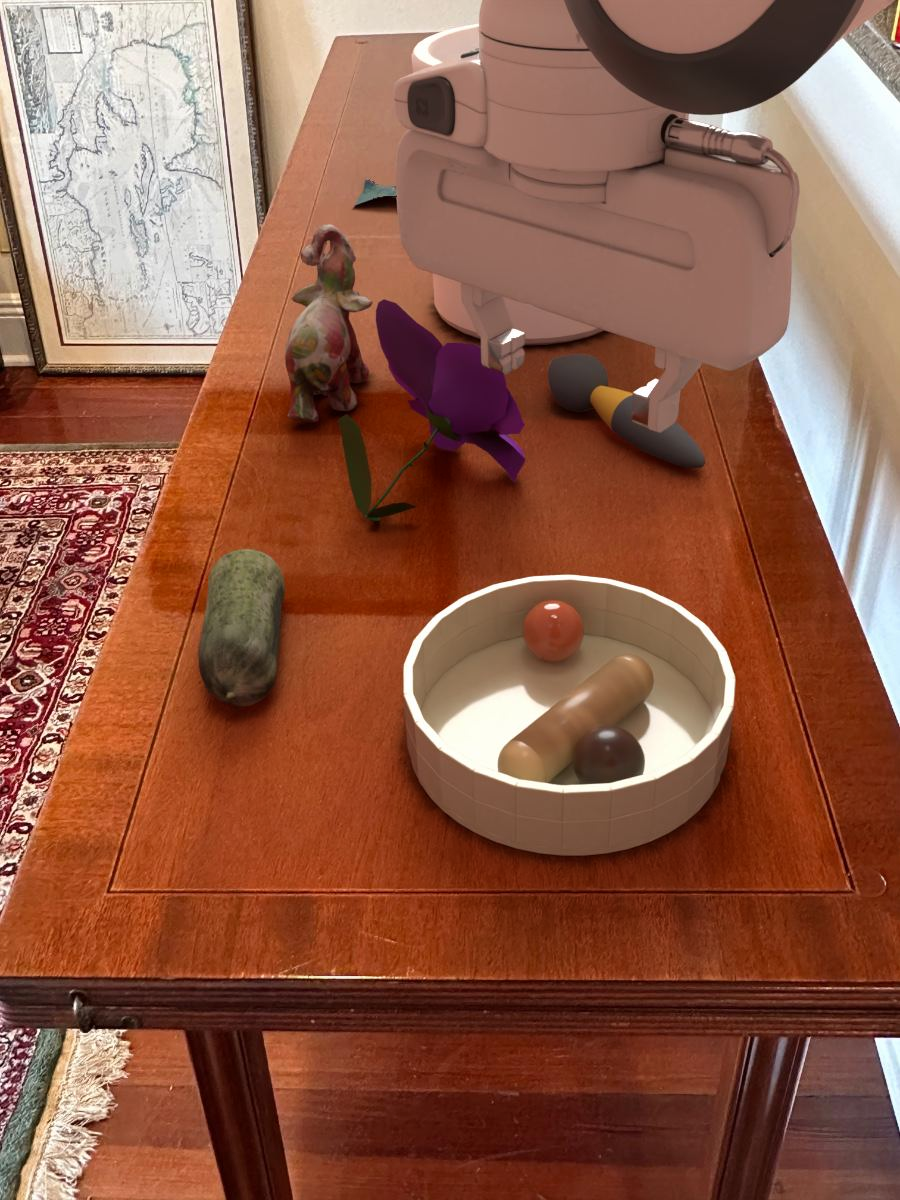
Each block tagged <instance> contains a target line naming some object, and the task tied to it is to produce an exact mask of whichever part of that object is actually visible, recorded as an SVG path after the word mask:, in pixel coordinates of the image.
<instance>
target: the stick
mask: <svg viewBox="0 0 900 1200" xmlns="http://www.w3.org/2000/svg"><path fill="white" fill-rule="evenodd" d="M653 684H654V676H653V672H652V669H651V668H650V666H649V665H648V663H647V662H646V661H645V660H644V659H642V658H641V657H639V656H636V655H632V654H622V655H619V656H616V657H614V658H613V659H611V660H610V661H609V662H607V663H606V664H605V665H604V666H602V667H601V668H600V669H599V670H597V671H596V672H595V673H594V674H592V675H591V676H590V677H589V678H587V679H586V680H585V681H584V682H582V683H581V684H580V685H579V686H577V687H576V688H575V689H574V690H572V691H571V692H570V693H569V694H567V695H566V696H565V697H564V698H562V699H561V700H560V701H559V702H557V703H556V704H555V705H554V706H552V707H551V708H550V709H549V710H547V711H546V712H545V713H544V714H543V715H541V716H540V717H539V718H538V719H536V720H535V721H534V722H533V723H531V724H530V725H529V726H528V727H526V728H525V729H524V730H523V731H521V732H520V733H519V734H518V735H516V736H515V737H514V738H513V739H511V740H510V741H509V742H508V743H507V744H506V745H505V746H504V747H503V748H502V750H501V751H500V754H499V757H498V763H497V767H498V772H500V773H503V774H506V775H509V776H511V777H514V778H517V779H521V780H528V781H535V782H542V783H548V782H550V781H551V780H552V779H553V778H554V777H555V776H557V775H558V774H559V773H560V772H561V771H562V770H564V769H565V768H566V767H567V766H568V765H569V764H571V763H572V762H573V757H574V752H575V748H576V746H577V744H578V742H579V741H580V739H581V738H582V737H583V736H584V735H585V734H586V733H588V732H589V731H591V730H593V729H595V728H598V727H601V726H615V725H616V724H617V723H619V722H620V721H621V720H622V719H623V718H624V717H626V716H627V715H628V714H629V713H630V712H631V711H633V710H634V709H635V708H636V707H637V706H638V705H640V704H641V703H642V702H643V701H644V700H645V699H646V698H647V697H648V696H649V695H650V693H651V691H652V689H653Z"/></svg>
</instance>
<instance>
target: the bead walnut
mask: <svg viewBox="0 0 900 1200" xmlns="http://www.w3.org/2000/svg"><path fill="white" fill-rule="evenodd" d="M573 766H574V770H575V774H576V776H577V778H578V780H579V781H580V783H581V784H603V783H612V782H616V781H620V780H624V779H628V778H632V777H636V776H640V775H643V772H644V767H645V757H644V752H643V749H642V747H641V745H640V743H639V742H638V740H637V739H636V738H635V737H634V736H633V735H632V734H631V733H629V732H628V731H626V730H624V729H622V728H620V727H616V726H601V727H598V728H595V729H593V730H591V731H589V732H588V733H586V734H585V735H584V736H583V737H582V738H581V739H580V741H579V742H578V744H577V746H576V748H575V752H574V757H573Z"/></svg>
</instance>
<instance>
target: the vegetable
mask: <svg viewBox="0 0 900 1200" xmlns="http://www.w3.org/2000/svg"><path fill="white" fill-rule="evenodd" d="M285 591H286V581H285V577H284V575H283V572H282V570H281V568H280V566H279V565H278V563H277V562H276V561H275V560H274V558H272V557H271V556H270V555H269V554H267V553H265V552H263V551H261V550H257V549H252V548H241V549H236V550H232V551H229V552H227V553H225V554H224V555H222V556H221V557H220V558H219V559H217V561H216V562H215V564H214V565H213V566H212V568H211V569H210V571H209V574H208V581H207V596H206V604H205V610H204V617H203V620H202V621H203V622H202V627H201V634H200V639H199V645H198V653H197V654H198V655H197V656H198V670H199V673H200V678H201V680H202V682H203V686H204V687H205V689H206V691H207V692H208V693H209V695H211V696H213V697H214V698H215V699H216V700H219V701H221V702H222V703H225V704H227V705H230V706H234V707H241V708H243V707H250V706H253V705H255V704H257V703H259V702H261V701H262V700H263V699H265V698H266V697H267V696H268V695H269V693H270V692H271V690H272V689H273V687H274V685H275V681H276V678H277V674H278V673H277V672H278V659H279V658H278V657H279V644H280V633H281V630H280V629H281V621H282V619H281V618H282V609H283V608H282V607H283V604H284V597H285V593H286V592H285Z"/></svg>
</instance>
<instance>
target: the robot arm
mask: <svg viewBox="0 0 900 1200" xmlns="http://www.w3.org/2000/svg"><path fill="white" fill-rule="evenodd" d="M895 1H896V0H481V3H480V8H479V13H478V24H479V48H478V49H475V50H472V51H470V52H467V53H464V54H462V55H461V57H460V58H456V59H452V60H449V61H446V62H443V63H440V64H437V65H434V66H431V67H428V68H425V69H422V70H420V71H417V72H415V73H414V72H412V73H409V74H407V75H404V76H402V77H400V78H399V79H398V80H397V81H395V83H394V86H393V94H392V96H393V108H394V113H395V117H396V120H397V122H398V123H399V124H400V125H401V126H402V127H403V128H406V129H407V130H405V132H404V133H403V134H402V136H401V138H400V139H399V143H398V147H397V149H396V157H395V158H396V159H395V163H396V164H395V173H396V193H397V197H396V210H397V212H396V213H397V223H398V233H399V234H398V235H399V239H400V243H401V245H402V247H403V249H404V251H405V254H406V255H407V257H408V258H409V260H410V262H411V263H412V265H413V266H414V267H415V268H416V269H419V270H421V271H424V272H428V273H431V274H433V273H434V274H437V275H440V276H443V277H446V278H449V279H452V280H455V281H458V282H461V296H462V302H463V304H464V306H465V308H466V310H467V313H468V315H469V317H470V319H471V321H472V323H473V325H474V327H475V329H476V331H477V333H478V335H479V336H480V337H481V339H480V347H481V363H482V365H483V366H485V367H488V368H490V369H493V370H495V371H498V372H501V373H504V375H509V374H510V373H512V371H513V370H517V369H519V368H521V367H522V366H523V364H524V362H525V359H526V352H525V350H524V347H525V346H526V345H525V333H523V332H521V331H518V330H516V329H513V326H512V323H511V320H510V317H509V314H508V311H507V309H506V306H505V303H504V300H503V297H506V298H509V299H512V300H515V301H518V302H521V303H524V304H527V305H530V306H533V307H536V308H539V309H542V310H545V311H548V312H551V313H554V314H557V315H560V316H563V317H566V318H569V319H572V320H575V321H578V322H581V323H584V324H587V325H590V326H593V327H596V328H599V329H602V330H604V331H605V332H607V333H611V334H614V335H616V336H617V335H618V336H619V337H623V338H626V339H629V340H633V341H635V342H638V343H640V344H641V343H642V344H644V345H647V346H651V347H654V360H653V361H654V362H653V365H654V366H655V368H659V369H661V370H664V372H663V373H662V375H661V376H660V377H659V379H657V378H654V379H653V380H651V381H649V382H648V383H646V386H641V387H639V388H638V389H636V390H635V391H633V392H632V393H633V399H632V406H633V408H634V411H633V413H632V414H631V419H632V422H634V423H636V424H638V425H641V426H643V427H646V428H649V429H651V430H653V431H656V432H659V433H661V432H662V431H664V430H665V429H667V428H669V427H670V426H672V425H673V424H674V423H675V421H676V422H677V419H678V417H679V413H680V412H679V411H680V410H679V409H680V403H681V402H680V400H681V393H682V391H681V390H683V389H684V388H685V386H686V385H687V384H689V382H690V380H691V379H692V378H693V376H694V375H696V373H697V372H698V371H699V369H700V368H701V366H702V365H703V364H704V365H708V366H710V367H713V368H716V369H718V370H723V371H725V372H726V371H727V372H732V371H733V372H734V371H736V370H738V369H741V368H742V367H745V366H746V365H748V364H749V363H751V362H753V361H755V360H757V359H758V358H759V357H761V356H763V355H764V354H765V353H767V352H768V351H769V350H771V349H772V348H774V347H775V345H777V344H778V343H779V342H780V341H781V340H782V338H783V337H784V336H785V335H786V332H787V330H788V326H789V319H790V309H791V300H792V299H791V296H792V277H793V275H792V273H793V272H792V271H793V270H792V269H793V254H792V253H793V250H792V245H793V244H792V234H793V232H794V229H795V227H796V222H797V214H798V207H799V199H800V194H801V193H800V192H801V191H800V188H801V187H800V179H799V175H798V173H797V172H796V171H794V168H793V167H792V165H791V164H790V163H791V162H789V160H788V159H787V158H786V157H785V156H784V155H783V154H782V153H781V152H779V151H777V150H776V149H774V145H773V141H772V140H771V139H770V138H768V137H766V136H764V135H762V134H759V133H756V132H751V131H738V132H736V131H731V130H727V129H724V128H721V127H718V126H715V125H713V124H708V123H706V122H700V121H696V120H692V119H691V120H690V115H695V116H718V115H725V114H732V113H735V112H736V113H737V112H740V111H743V110H746V109H750V108H753V107H755V106H757V105H760V104H763V103H765V102H767V101H768V100H770V99H773V98H774V97H776V96H777V95H779V94H780V93H782V92H783V91H785V90H786V89H788V88H789V87H791V86H792V85H794V84H795V83H796V82H797V81H798V80H799V79H800V78H801V77H803V76H804V75H805V74H806V73H807V72H808V71H809V70H810V69H811V68H812V67H813V66H814V65H815V64H816V63H818V61H819V60H820V59H821V58H823V57H824V56H825V55H826V54H827V53H829V51H830V50H831V49H832V48H833V47H835V45H836V44H837V43H838V42H840V41H841V40H842V39H844V38H845V37H846V36H848V35H849V34H851V33H852V32H853V31H855V30H856V29H857V28H859V27H861V26H862V25H863V24H864V23H866V22H867V21H869V20H870V19H871V18H873V17H874V16H876V15H877V14H879V13H881V12H882V11H883V10H885V9H886V8H887V7H889V6H890V5H891V4H892V3H894V2H895ZM769 161H770V162H772V163H773V164H774V165H770V164H767V163H768V162H769ZM502 296H503V297H502Z"/></svg>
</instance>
